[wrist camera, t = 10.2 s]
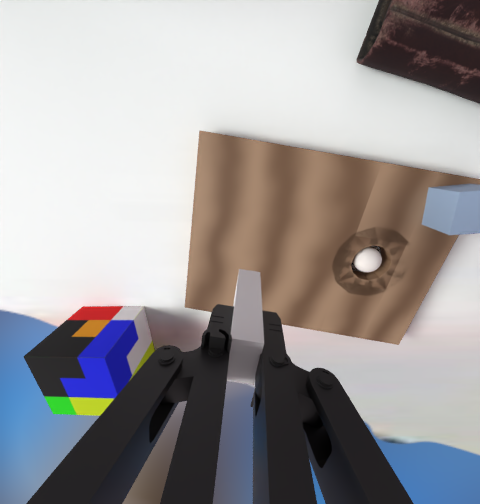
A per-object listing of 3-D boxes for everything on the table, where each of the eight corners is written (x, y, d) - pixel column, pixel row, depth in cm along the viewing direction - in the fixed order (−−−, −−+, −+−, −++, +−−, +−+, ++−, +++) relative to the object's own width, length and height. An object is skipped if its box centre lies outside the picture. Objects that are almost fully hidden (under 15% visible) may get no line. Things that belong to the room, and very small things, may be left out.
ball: (386, 245, 28) (367, 253, 31) (363, 240, 27) (346, 249, 30) (389, 270, 27) (369, 276, 30) (365, 266, 26) (347, 272, 29)
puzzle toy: (144, 306, 35) (104, 357, 26) (156, 355, 39) (125, 416, 30) (83, 306, 36) (23, 356, 27) (100, 354, 40) (53, 413, 31)
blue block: (428, 187, 24) (459, 192, 20) (470, 183, 24) (509, 187, 20) (421, 224, 26) (449, 235, 22) (460, 221, 25) (496, 231, 21)
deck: (189, 297, 34) (184, 307, 32) (204, 133, 26) (199, 130, 24) (388, 332, 34) (398, 344, 32) (467, 178, 26) (488, 180, 24)
